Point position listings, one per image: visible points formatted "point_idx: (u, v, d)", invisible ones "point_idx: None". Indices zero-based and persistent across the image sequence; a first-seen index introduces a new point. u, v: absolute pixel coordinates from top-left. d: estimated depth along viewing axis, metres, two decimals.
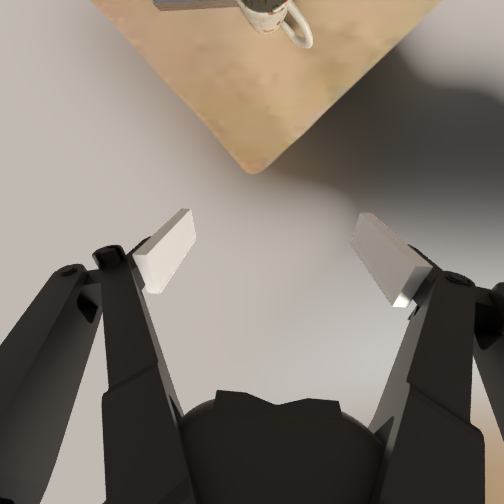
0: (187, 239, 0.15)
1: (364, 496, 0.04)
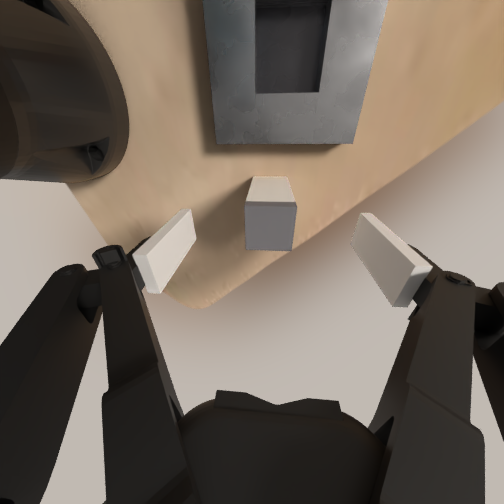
0: (187, 239, 0.15)
1: (364, 496, 0.04)
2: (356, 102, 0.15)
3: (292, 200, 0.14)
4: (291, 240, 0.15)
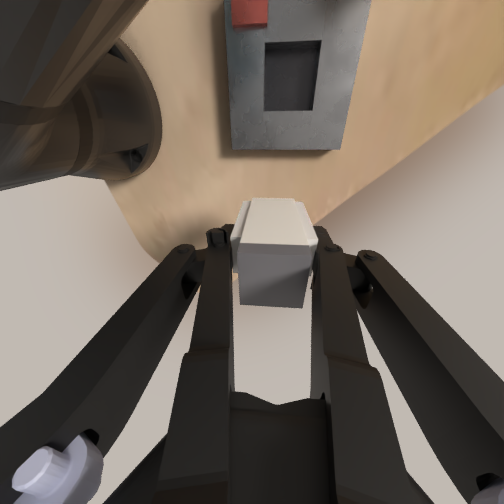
0: None
1: (324, 495, 0.04)
2: (341, 118, 0.20)
3: (304, 242, 0.10)
4: (302, 296, 0.11)
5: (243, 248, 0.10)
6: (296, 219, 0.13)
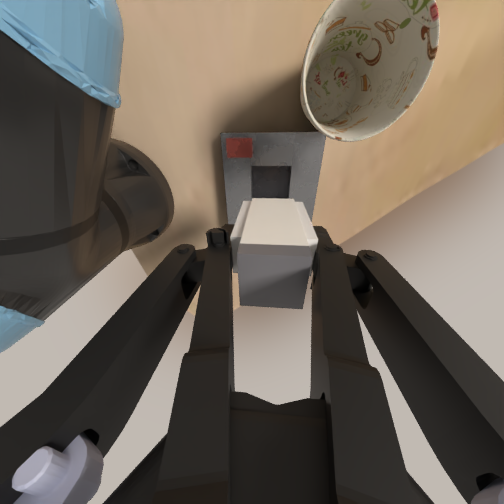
0: None
1: (324, 495, 0.04)
2: (309, 210, 0.27)
3: (304, 242, 0.10)
4: (302, 296, 0.10)
5: (243, 249, 0.10)
6: (296, 219, 0.13)
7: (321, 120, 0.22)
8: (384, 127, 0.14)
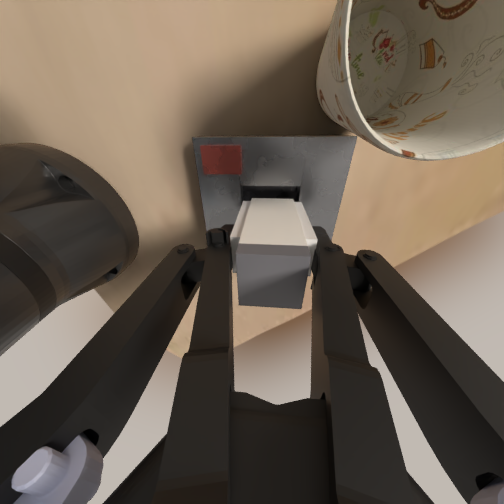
0: None
1: (324, 494, 0.04)
2: None
3: (303, 242, 0.10)
4: (301, 296, 0.11)
5: (242, 249, 0.10)
6: (295, 219, 0.13)
7: None
8: None
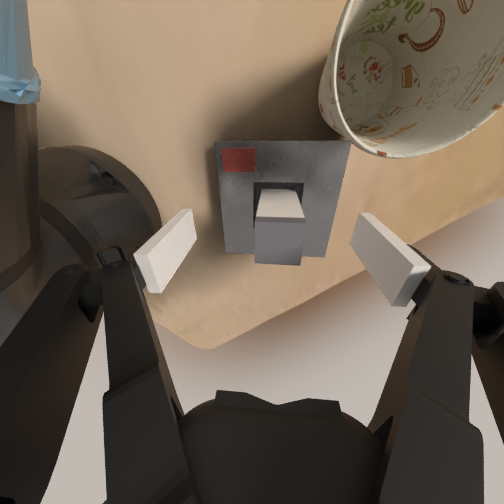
0: (188, 239, 0.15)
1: (364, 496, 0.04)
2: (325, 236, 0.21)
3: (301, 216, 0.14)
4: (300, 255, 0.15)
5: (258, 219, 0.14)
6: (296, 203, 0.17)
7: None
8: (455, 138, 0.09)
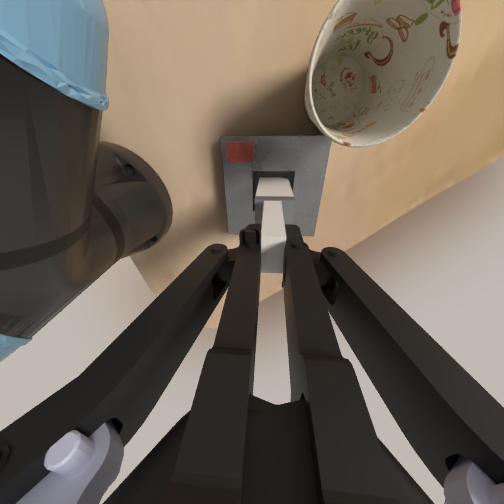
0: None
1: (312, 502, 0.03)
2: (313, 217, 0.25)
3: (291, 195, 0.18)
4: None
5: (257, 197, 0.18)
6: (288, 187, 0.21)
7: (326, 123, 0.21)
8: (397, 132, 0.13)
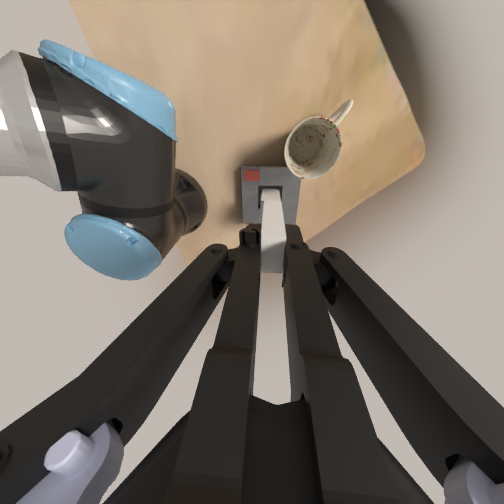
0: None
1: (312, 502, 0.03)
2: (294, 212, 0.42)
3: (279, 200, 0.35)
4: None
5: (262, 201, 0.35)
6: (278, 195, 0.38)
7: (299, 160, 0.38)
8: (324, 173, 0.30)
